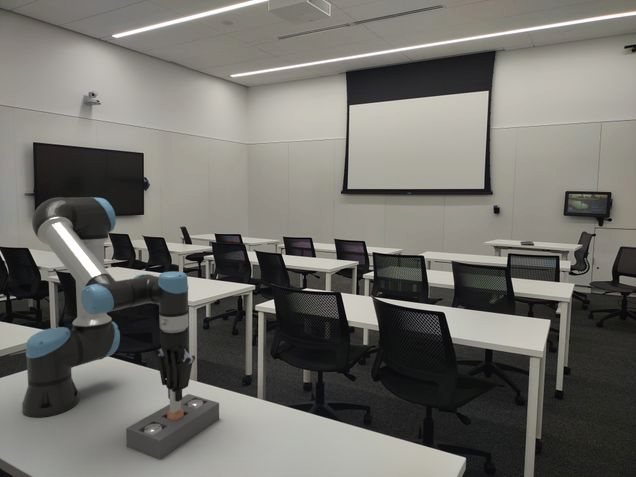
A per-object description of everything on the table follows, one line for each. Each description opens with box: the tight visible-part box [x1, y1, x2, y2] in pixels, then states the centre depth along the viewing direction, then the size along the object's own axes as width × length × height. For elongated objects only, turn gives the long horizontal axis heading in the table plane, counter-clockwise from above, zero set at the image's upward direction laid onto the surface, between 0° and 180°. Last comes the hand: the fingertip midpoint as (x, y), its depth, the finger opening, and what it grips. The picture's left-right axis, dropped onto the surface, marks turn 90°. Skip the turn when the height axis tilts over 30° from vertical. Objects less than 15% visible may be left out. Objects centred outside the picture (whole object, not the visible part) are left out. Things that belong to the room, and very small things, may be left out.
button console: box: [125, 393, 220, 460], centre depth 125 cm, size 12×23×5 cm, turn 153°
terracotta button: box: [167, 408, 184, 421], centre depth 125 cm, size 4×4×4 cm
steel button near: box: [144, 424, 162, 435], centre depth 118 cm, size 4×4×4 cm
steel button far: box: [188, 400, 203, 409], centre depth 132 cm, size 4×4×4 cm
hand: (175, 410), depth 124 cm, fingers closed
